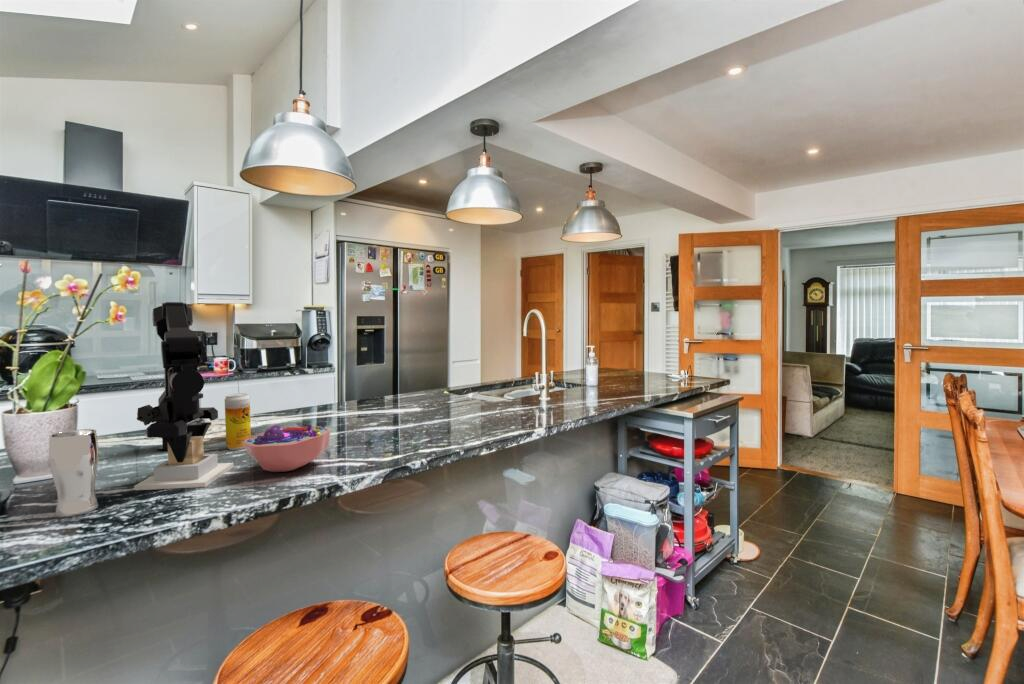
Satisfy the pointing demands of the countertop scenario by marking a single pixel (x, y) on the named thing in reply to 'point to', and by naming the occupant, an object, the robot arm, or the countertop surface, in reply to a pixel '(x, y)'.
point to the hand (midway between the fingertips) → (186, 458)
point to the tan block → (189, 452)
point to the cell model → (287, 447)
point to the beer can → (237, 420)
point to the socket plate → (185, 474)
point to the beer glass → (74, 470)
